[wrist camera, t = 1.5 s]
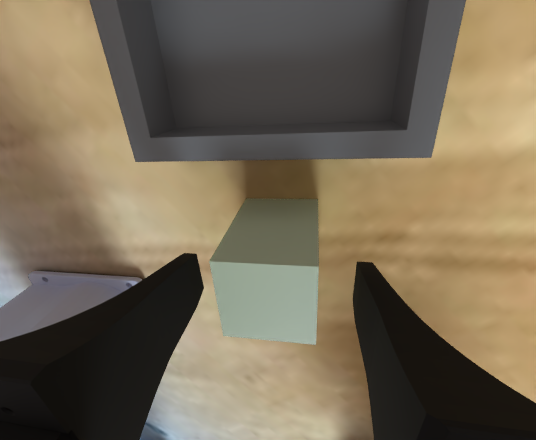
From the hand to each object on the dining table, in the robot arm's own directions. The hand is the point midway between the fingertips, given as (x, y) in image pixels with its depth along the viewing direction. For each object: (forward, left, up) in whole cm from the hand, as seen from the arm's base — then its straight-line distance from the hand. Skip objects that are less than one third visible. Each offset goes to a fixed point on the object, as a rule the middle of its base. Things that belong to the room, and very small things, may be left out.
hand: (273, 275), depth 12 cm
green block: (0, 0, -4) cm, 4 cm away
